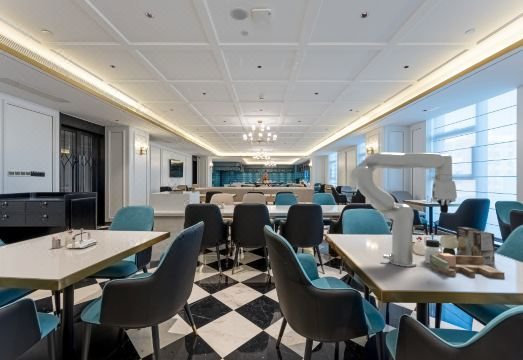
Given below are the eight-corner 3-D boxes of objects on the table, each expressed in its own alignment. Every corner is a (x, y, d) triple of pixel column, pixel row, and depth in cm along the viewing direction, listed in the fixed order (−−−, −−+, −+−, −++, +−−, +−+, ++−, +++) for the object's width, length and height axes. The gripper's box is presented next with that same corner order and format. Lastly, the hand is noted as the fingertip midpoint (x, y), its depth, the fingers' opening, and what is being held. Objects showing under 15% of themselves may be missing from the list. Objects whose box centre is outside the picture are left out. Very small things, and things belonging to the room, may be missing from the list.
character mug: (463, 261, 138) (463, 237, 138) (452, 262, 137) (452, 238, 137) (446, 256, 149) (445, 234, 149) (435, 257, 148) (435, 234, 148)
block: (444, 266, 123) (444, 255, 123) (438, 263, 128) (438, 253, 128) (455, 266, 122) (455, 256, 123) (448, 263, 127) (448, 253, 128)
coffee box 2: (495, 265, 133) (494, 233, 133) (481, 264, 134) (480, 233, 134) (484, 259, 142) (483, 230, 142) (470, 259, 143) (470, 230, 143)
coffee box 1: (456, 253, 156) (455, 226, 157) (466, 253, 156) (466, 226, 157) (468, 257, 147) (467, 229, 147) (479, 257, 147) (478, 229, 147)
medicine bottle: (441, 265, 133) (440, 242, 133) (425, 263, 136) (424, 240, 137) (440, 261, 139) (440, 239, 139) (424, 259, 142) (424, 238, 143)
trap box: (446, 275, 117) (445, 262, 117) (430, 266, 131) (429, 254, 131) (504, 278, 114) (504, 264, 114) (481, 268, 128) (481, 256, 128)
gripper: (432, 178, 133) (432, 213, 133) (463, 177, 131) (464, 213, 131) (424, 178, 141) (425, 211, 140) (454, 178, 139) (455, 212, 138)
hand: (444, 212), depth 135 cm, fingers closed
